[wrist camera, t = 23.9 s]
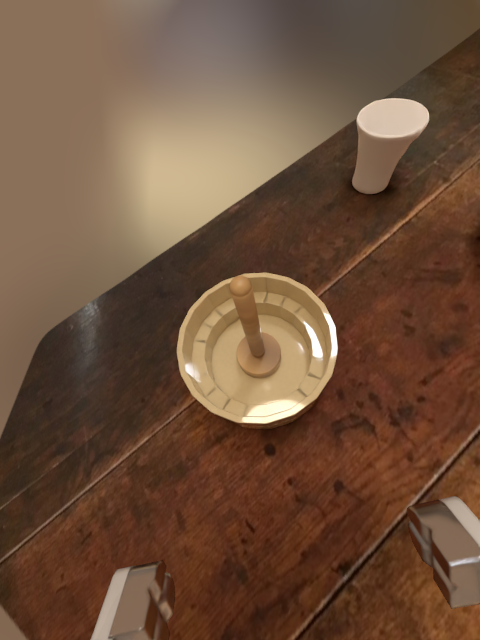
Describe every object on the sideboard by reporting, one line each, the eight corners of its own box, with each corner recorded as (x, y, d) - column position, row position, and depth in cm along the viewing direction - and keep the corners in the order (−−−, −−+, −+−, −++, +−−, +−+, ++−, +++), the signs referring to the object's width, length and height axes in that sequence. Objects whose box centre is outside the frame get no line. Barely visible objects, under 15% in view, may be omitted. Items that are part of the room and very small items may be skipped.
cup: (367, 210, 41) (389, 144, 32) (331, 178, 45) (343, 112, 36) (415, 187, 42) (450, 116, 33) (376, 158, 46) (398, 87, 37)
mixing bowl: (275, 462, 28) (272, 465, 22) (171, 373, 34) (146, 355, 28) (352, 344, 32) (368, 319, 26) (248, 284, 38) (241, 252, 32)
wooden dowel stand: (264, 387, 31) (245, 329, 16) (230, 362, 33) (186, 290, 18) (289, 352, 32) (293, 270, 18) (255, 330, 34) (233, 240, 20)
